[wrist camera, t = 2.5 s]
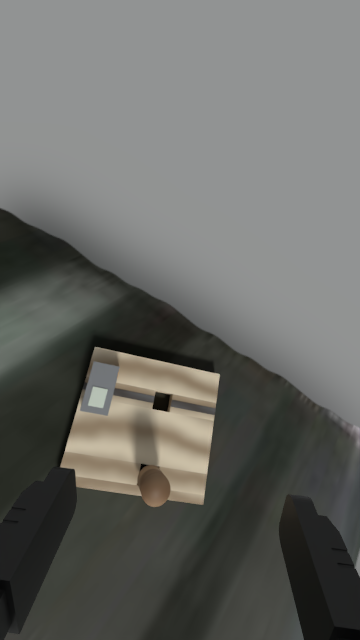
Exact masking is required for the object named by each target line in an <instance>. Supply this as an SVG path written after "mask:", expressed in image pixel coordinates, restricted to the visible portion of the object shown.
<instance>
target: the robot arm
mask: <svg viewBox="0 0 360 640" xmlns="http://www.w3.org/2000/svg"><path fill="white" fill-rule="evenodd" d="M76 502H77V493H76V475H75V470H74V469H70V468H62V467H53V468H52V469H51V471H50V472H49V474H48V476H47V477H46V479H45V480H44V482H42V481H35V482H34V483H33V484H31V485H30V486H29V487H28V488H27V489H25V490H24V491H23V492H22V493H21V495H20V496H19V498H18V499H17V500H16V502H15V503H14V505H13V506H12V509H11V510H10V511H9V512H8V514H7V515H6V516H5V518H4V519H3V522H2V523H1V524H0V640H4V638H5V636H6V634H7V632H9V633H15V634H20V632H21V630H22V627H23V625H24V623H25V621H26V618H27V616H28V614H29V612H30V610H31V607H32V605H33V603H34V601H35V599H36V596H37V594H38V592H39V590H40V588H41V585H42V583H43V581H44V579H45V577H46V574H47V572H48V570H49V568H50V565H51V563H52V561H53V559H54V557H55V554H56V552H57V550H58V548H59V546H60V543H61V541H62V539H63V537H64V535H65V532H66V530H67V528H68V526H69V524H70V521H71V519H72V517H73V514H74V511H75V507H76ZM279 537H280V543H281V548H282V552H283V556H284V560H285V564H286V568H287V572H288V576H289V580H290V584H291V588H292V592H293V596H294V600H295V604H296V608H297V613H298V617H299V621H300V625H301V629H302V633H303V637H304V640H360V577H359V575H358V573H357V571H356V569H355V568H354V564H353V562H352V559H351V557H350V555H349V554H348V552H347V548H346V546H345V544H344V542H343V539H342V537H341V535H340V533H339V531H338V530H337V529H336V527H335V526H334V525H333V524H332V523H331V521H330V520H329V519H328V518H327V516H320V515H318V514H317V512H316V509H315V507H314V504H313V502H312V500H311V498H310V497H305V496H297V495H289V494H288V495H287V496H286V500H285V504H284V508H283V512H282V516H281V519H280V524H279Z"/></svg>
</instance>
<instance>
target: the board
mask: <svg viewBox="0 0 360 640" xmlns="http://www.w3.org/2000/svg"><path fill="white" fill-rule="evenodd" d="M94 361H95V362H100V363H104V364H109V365H114V366H119V367H120V370H119V374H118V378H117V381H116V385H115V389H114V393H113V397H112V401H111V405H110V409H109V413H108V416H105V415H100V414H94V413H89V412H84V411H80V408H81V404H82V401H83V397H84V394H85V390H86V387H87V383H88V380H89V376H90V373H91V369H92V366H93V362H94ZM219 377H220V374H216V373H211V372H207V371H202V370H198V369H193V368H189V367H184V366H180V365H175V364H171V363H166V362H162V361H157V360H153V359H148V358H144V357H139V356H135V355H130V354H126V353H121V352H117V351H112V350H108V349H103V348H99V347H95V348H94V352H93V355H92V359H91V362H90V366H89V369H88V372H87V376H86V379H85V383H84V386H83V390H82V393H81V397H80V400H79V404H78V407H77V410H76V414H75V417H74V421H73V424H72V428H71V431H70V435H69V438H68V442H67V445H66V449H65V452H64V455H63V459H62V462H61V466H60V467H62V468H70V469H74V470H75V475H76V487H82V488H89V489H96V490H103V491H110V492H117V493H124V494H131V495H138V496H142V495H141V492H140V489H139V486H138V482H137V479H138V474H139V471H140V466H141V464H146V465H155V466H157V467H158V468H159V469H160V470H161V471H162V473H163V474H164V475H165V476H166V478H167V479H168V481H169V483H170V488H171V490H170V495H169V497H168V499H167V500H173V501H180V502H187V503H194V504H201V505H203V501H204V494H205V486H206V478H207V470H208V462H209V455H210V447H211V439H212V431H213V423H214V416H215V409H216V400H217V392H218V384H219ZM155 392H159V393H164V394H169V395H170V399H169V404H168V410H167V412H165V411H160V410H155V409H152V407H153V402H154V397H155Z"/></svg>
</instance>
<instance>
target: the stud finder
mask: <svg viewBox="0 0 360 640" xmlns="http://www.w3.org/2000/svg"><path fill="white" fill-rule="evenodd" d="M119 370H120V367H119V366H114V365H109V364H104V363H100V362H95V361H94V362H93V366H92V369H91V373H90V376H89V380H88V383H87V387H86V390H85V394H84V397H83V401H82V404H81V408H80V411H84V412H89V413H94V414H100V415H105V416H108V413H109V409H110V405H111V401H112V397H113V393H114V389H115V385H116V381H117V378H118V374H119Z"/></svg>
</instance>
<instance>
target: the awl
mask: <svg viewBox="0 0 360 640" xmlns="http://www.w3.org/2000/svg"><path fill="white" fill-rule="evenodd" d="M137 482H138V486H139V489H140V492H141V495H142V498H143V500H144V501H145V503H146V504H148V505H149V506H152V507H158V506H161V505H162V504H164V503H165V502H166V501H167V499H168V497H169V495H170V490H171V488H170V483H169V481H168V479H167V478H166V476H165V475H164V474H163V473H162V471H161V470H160V469H159V468H158V467H157V466H155V465H148V466H145V467H144V468H142V470H141V471H140V472H139V474H138V479H137Z"/></svg>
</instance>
